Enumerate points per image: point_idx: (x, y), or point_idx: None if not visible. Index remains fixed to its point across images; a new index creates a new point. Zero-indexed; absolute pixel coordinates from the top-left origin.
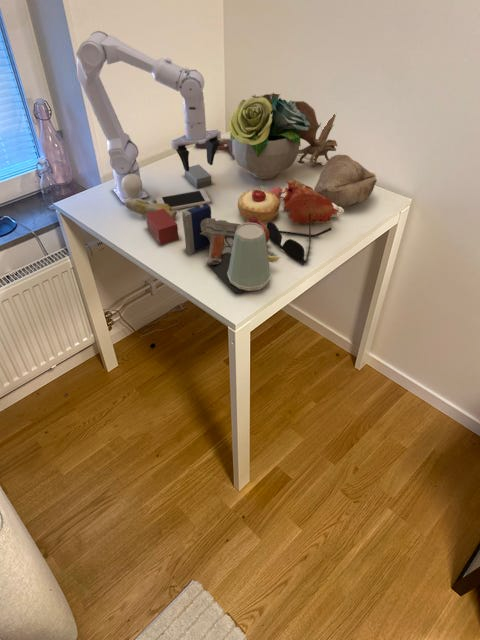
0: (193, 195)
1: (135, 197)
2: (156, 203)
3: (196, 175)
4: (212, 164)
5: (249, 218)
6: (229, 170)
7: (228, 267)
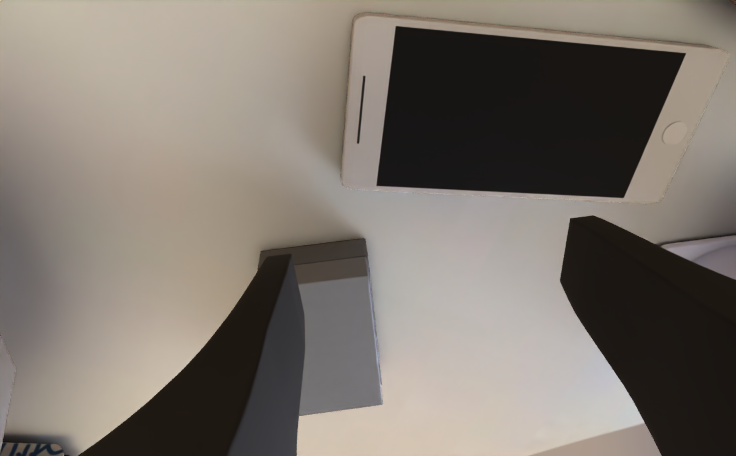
0: (440, 141)
1: None
2: None
3: (350, 319)
4: (265, 259)
5: None
6: (109, 352)
7: None
